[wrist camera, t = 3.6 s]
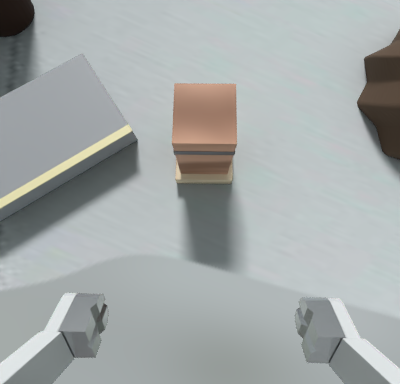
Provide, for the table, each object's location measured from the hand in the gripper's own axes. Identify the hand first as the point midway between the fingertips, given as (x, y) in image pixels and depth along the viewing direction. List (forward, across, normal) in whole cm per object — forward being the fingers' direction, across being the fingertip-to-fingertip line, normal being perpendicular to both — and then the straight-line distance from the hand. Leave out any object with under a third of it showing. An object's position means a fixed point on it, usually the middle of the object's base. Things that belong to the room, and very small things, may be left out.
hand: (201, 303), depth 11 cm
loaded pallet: (+19, 0, +2) cm, 19 cm away
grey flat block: (+20, +17, +1) cm, 26 cm away
